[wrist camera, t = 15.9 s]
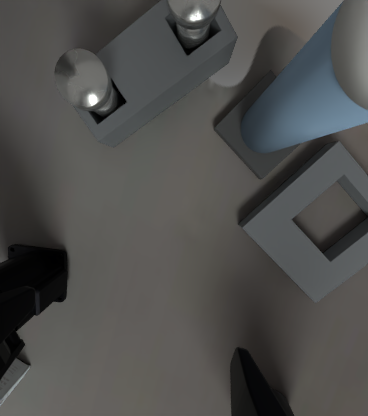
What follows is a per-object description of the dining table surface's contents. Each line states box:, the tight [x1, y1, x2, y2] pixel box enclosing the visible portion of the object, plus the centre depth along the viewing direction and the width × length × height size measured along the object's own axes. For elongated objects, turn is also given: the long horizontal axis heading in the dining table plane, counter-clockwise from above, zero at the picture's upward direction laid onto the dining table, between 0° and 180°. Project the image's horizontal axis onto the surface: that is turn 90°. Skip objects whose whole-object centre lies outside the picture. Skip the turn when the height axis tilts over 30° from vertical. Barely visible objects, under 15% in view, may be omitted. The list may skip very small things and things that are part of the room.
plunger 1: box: [55, 48, 123, 119], centre depth 14 cm, size 4×4×4 cm
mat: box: [214, 70, 301, 179], centre depth 17 cm, size 7×7×1 cm
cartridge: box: [241, 0, 368, 153], centre depth 9 cm, size 5×5×16 cm
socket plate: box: [238, 141, 368, 303], centre depth 19 cm, size 12×12×2 cm
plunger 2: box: [167, 0, 221, 55], centre depth 13 cm, size 4×4×4 cm
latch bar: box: [73, 0, 238, 148], centre depth 16 cm, size 14×5×3 cm, turn 123°
